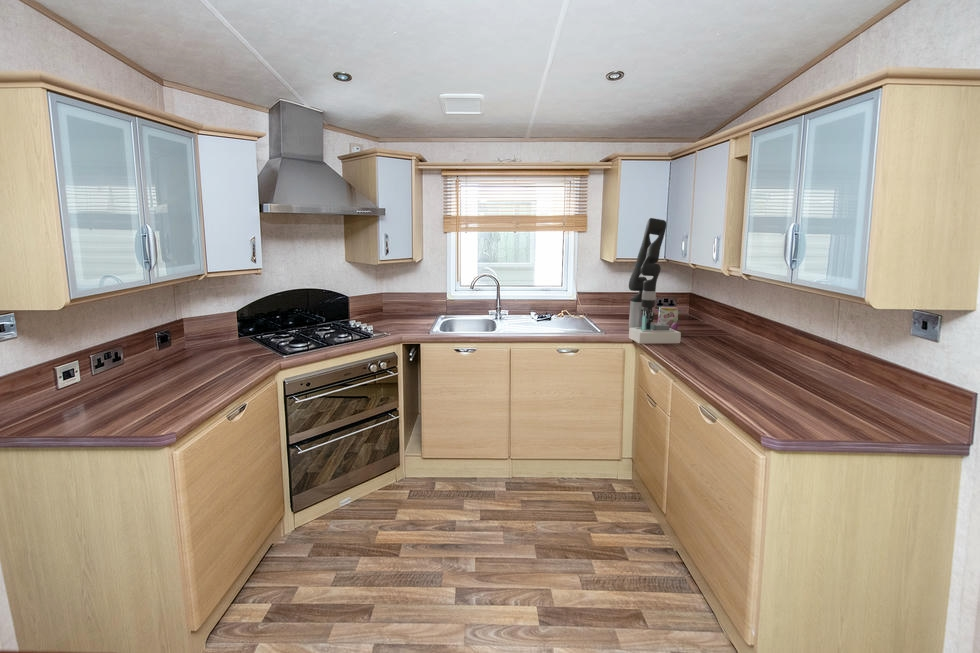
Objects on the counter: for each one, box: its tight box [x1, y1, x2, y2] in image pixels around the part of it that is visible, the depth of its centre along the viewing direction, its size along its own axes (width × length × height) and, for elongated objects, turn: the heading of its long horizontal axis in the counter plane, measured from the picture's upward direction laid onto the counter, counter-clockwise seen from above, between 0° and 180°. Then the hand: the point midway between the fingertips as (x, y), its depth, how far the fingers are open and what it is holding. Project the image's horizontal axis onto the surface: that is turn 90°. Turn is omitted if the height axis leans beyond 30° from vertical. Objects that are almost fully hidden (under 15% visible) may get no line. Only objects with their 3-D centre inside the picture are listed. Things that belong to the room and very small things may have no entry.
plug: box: [642, 315, 653, 330], centre depth 298 cm, size 4×4×10 cm
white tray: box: [628, 327, 682, 345], centre depth 299 cm, size 16×24×7 cm, turn 96°
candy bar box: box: [657, 306, 680, 331], centre depth 320 cm, size 11×5×16 cm, turn 84°
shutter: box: [651, 321, 670, 330], centre depth 299 cm, size 8×8×4 cm
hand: (646, 328), depth 298 cm, fingers closed on plug, 3 cm apart
